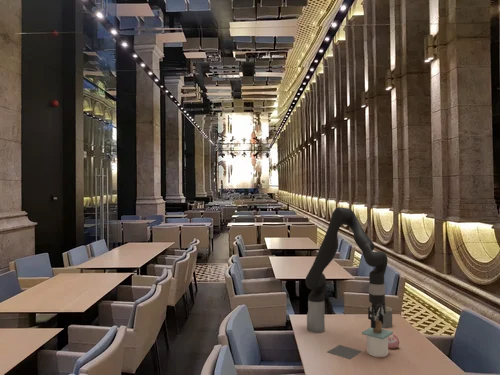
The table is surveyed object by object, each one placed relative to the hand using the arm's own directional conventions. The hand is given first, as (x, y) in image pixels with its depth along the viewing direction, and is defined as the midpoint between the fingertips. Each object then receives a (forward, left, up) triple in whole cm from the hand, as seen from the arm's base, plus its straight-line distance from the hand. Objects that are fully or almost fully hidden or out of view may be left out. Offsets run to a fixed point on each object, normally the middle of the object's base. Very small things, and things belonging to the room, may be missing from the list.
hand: (377, 325), depth 200 cm
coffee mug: (-18, +44, -14) cm, 50 cm away
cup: (0, 0, -14) cm, 14 cm away
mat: (-13, -9, -14) cm, 21 cm away
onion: (+2, +12, -14) cm, 19 cm away
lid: (0, 0, -4) cm, 4 cm away
